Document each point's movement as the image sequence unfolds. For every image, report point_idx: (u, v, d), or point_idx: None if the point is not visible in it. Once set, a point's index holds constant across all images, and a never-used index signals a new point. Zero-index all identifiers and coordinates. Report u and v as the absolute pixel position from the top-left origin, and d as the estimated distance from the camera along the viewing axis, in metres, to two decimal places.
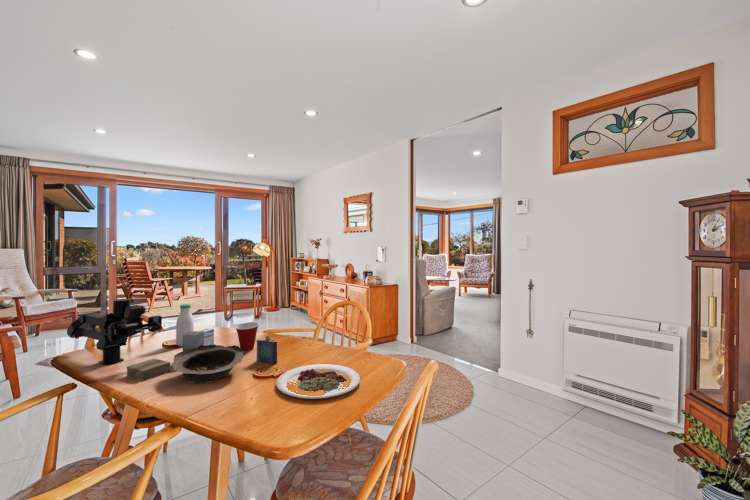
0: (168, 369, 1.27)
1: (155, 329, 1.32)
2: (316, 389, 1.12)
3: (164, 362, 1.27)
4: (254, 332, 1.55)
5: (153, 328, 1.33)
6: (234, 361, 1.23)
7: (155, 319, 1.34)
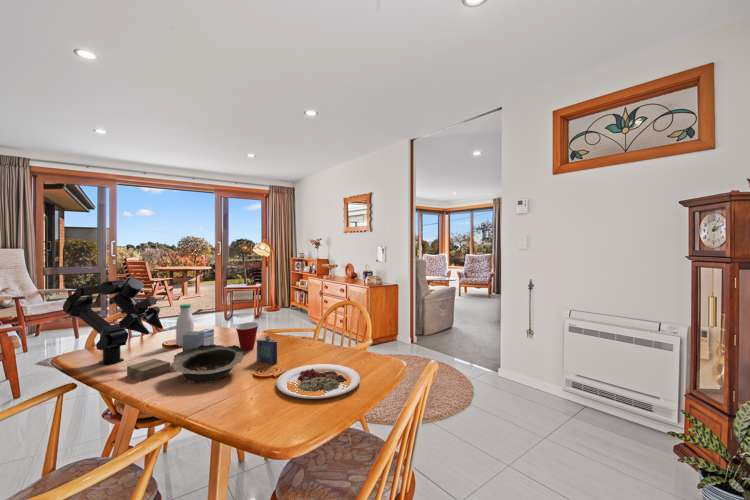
0: (168, 369, 1.27)
1: (152, 323, 1.40)
2: (316, 389, 1.12)
3: (164, 362, 1.27)
4: (254, 332, 1.55)
5: (150, 320, 1.40)
6: (234, 361, 1.23)
7: (157, 314, 1.41)
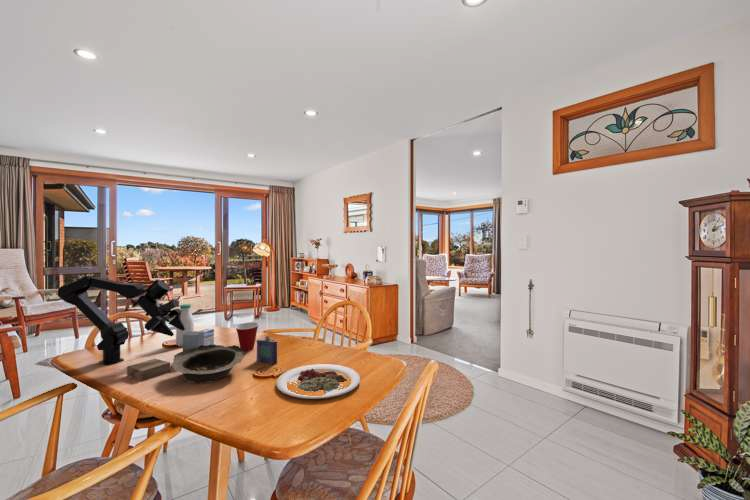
0: (168, 369, 1.26)
1: (175, 325, 1.43)
2: (316, 389, 1.12)
3: (164, 362, 1.27)
4: (254, 332, 1.55)
5: (172, 322, 1.44)
6: (234, 361, 1.23)
7: (179, 316, 1.44)
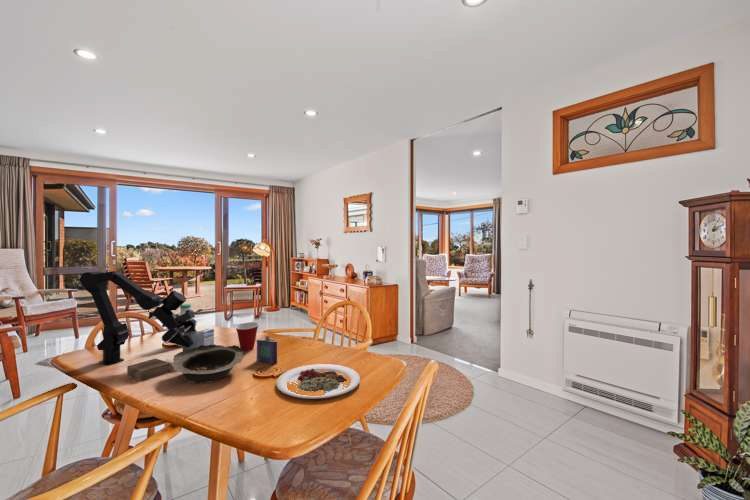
0: (168, 369, 1.26)
1: None
2: (316, 389, 1.12)
3: (164, 362, 1.27)
4: (254, 332, 1.55)
5: None
6: (234, 361, 1.23)
7: (194, 327, 1.45)
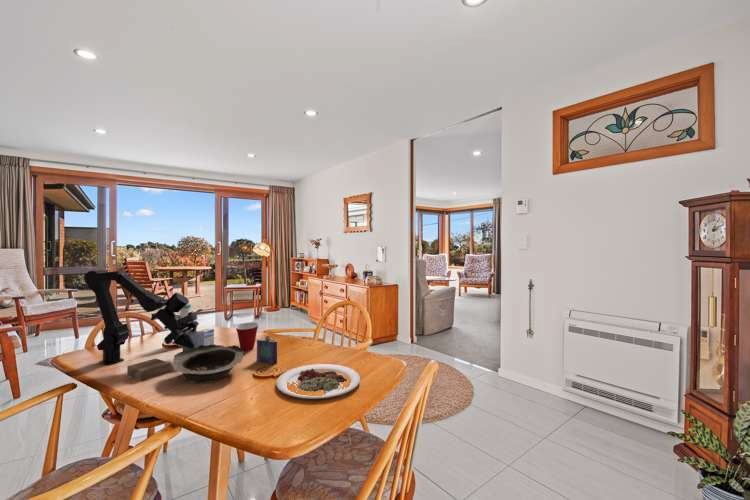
0: (168, 369, 1.26)
1: None
2: (316, 389, 1.12)
3: (164, 362, 1.27)
4: (254, 332, 1.55)
5: None
6: (234, 361, 1.23)
7: (195, 329, 1.44)
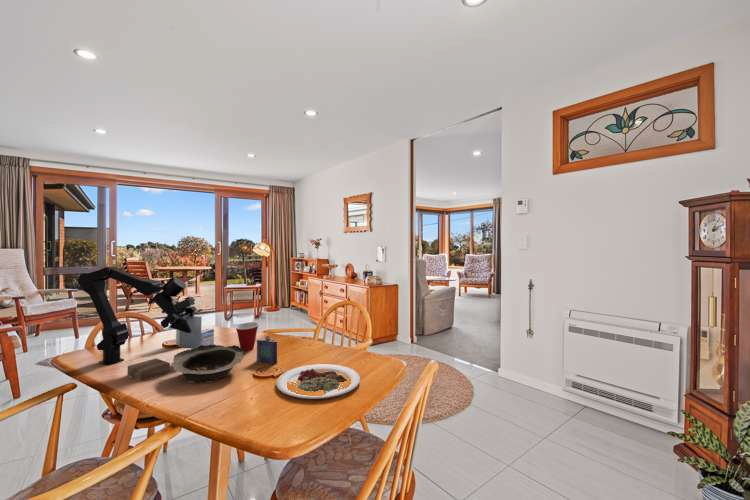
0: (167, 370, 1.26)
1: None
2: (316, 389, 1.12)
3: (164, 362, 1.27)
4: (254, 332, 1.55)
5: None
6: (234, 361, 1.23)
7: (192, 315, 1.42)
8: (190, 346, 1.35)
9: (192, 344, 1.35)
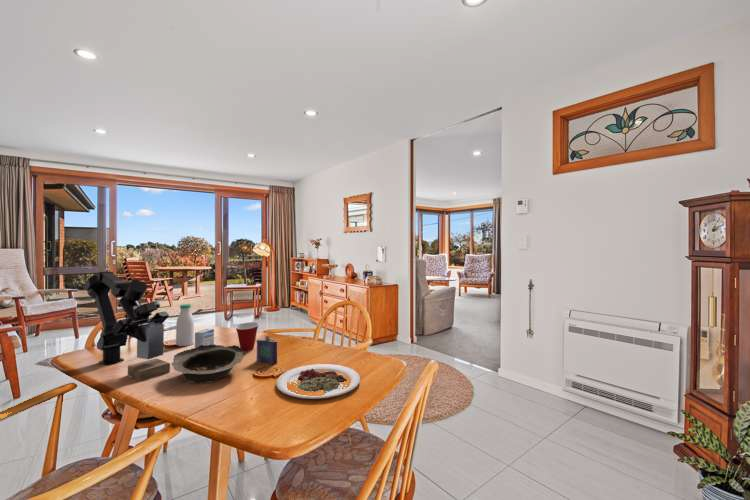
0: (167, 370, 1.26)
1: None
2: (316, 389, 1.12)
3: (164, 362, 1.27)
4: (254, 332, 1.55)
5: None
6: (234, 361, 1.23)
7: (158, 321, 1.29)
8: (145, 356, 1.22)
9: (147, 354, 1.22)
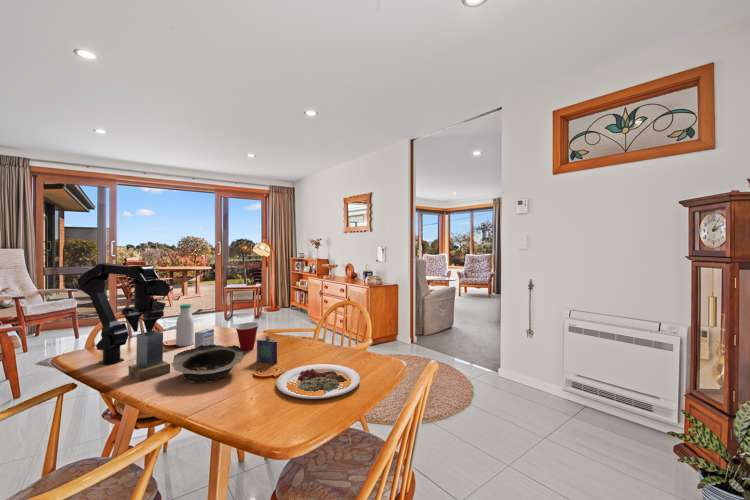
0: (168, 370, 1.26)
1: (131, 322, 1.35)
2: (316, 389, 1.12)
3: (164, 363, 1.26)
4: (254, 332, 1.55)
5: (132, 318, 1.36)
6: (234, 361, 1.23)
7: None
8: (144, 365, 1.22)
9: (145, 363, 1.21)
